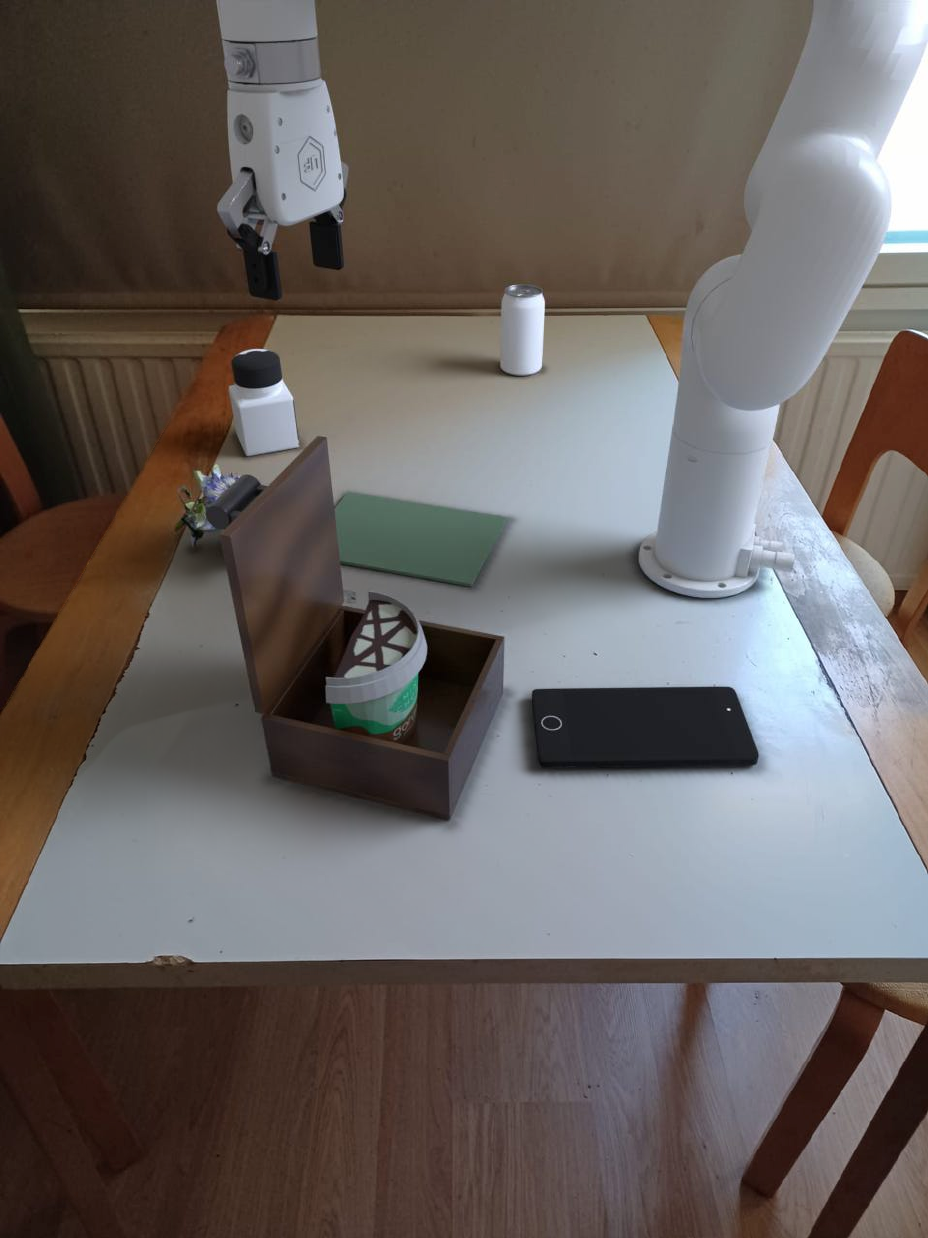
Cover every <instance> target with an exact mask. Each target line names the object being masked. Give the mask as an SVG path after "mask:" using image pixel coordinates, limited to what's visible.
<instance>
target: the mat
mask: <svg viewBox="0 0 928 1238" xmlns="http://www.w3.org/2000/svg"><path fill="white" fill-rule="evenodd" d="M334 510H335V519H336V529H337V538H338V547H339V557H340V565H341V564H342V565H348V566H353V567H359V568H364V569H370V570H374V571H380V572H386V573H391V574H392V573H393V574H398V575H402V576H408V577H413V578H420V579H425V580H432V581H437V582H442V583H448V584H453V585H459V586H463V587H470V588H472V587H473V586H474V583H475V581H476V579H477V578H478V576H479V574H480V572H481V571H482V569H483V566H484V565H485V562H486V561H487V559H488V557H489V556H490V553H491V552H492V550H493V548H494V546H495V544H496V542H497V541H498V538H499V536H500V535H501V533H502V531H503V529H504V527H505V526H506V524H507V521H508V517H507V516H502V515H496V514H489V513H484V512H483V513H482V512H477V511H472V510H471V511H470V510H465V509H464V510H463V509H459V508H451V507H445V506H440V505H432V504H426V503H420V502H414V501H406V500H401V499H394V498H387V497H381V496H375V495H369V494H363V493H356V492H350V491H348V492H347V493H345V495H344V496H343V497H342V499H341V500H340V501H339V502H338V503H337V505H336V506H334Z"/></svg>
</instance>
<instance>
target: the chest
mask: <svg viewBox="0 0 928 1238" xmlns="http://www.w3.org/2000/svg"><path fill="white" fill-rule="evenodd" d="M365 611H366V609H363V608H357V607H352V606H347V605H342V606H341V607H340V608H339V610H338V611H337V613H336V614H335V615H334V617H333V618H332V620H331V621H330V622H329V624H328V625H327V627H326V628H325V629H324V631H323V632H322V634H321V635H320V637H319V638H318V639H317V641H316V642H315V644H314V645H313V646H312V648H311V649H310V651H309V652H308V653H307V655H306V656H305V658H304V659H303V660H302V662H301V663H300V665H299V666H298V667H297V669H296V670H295V672H294V673H293V675H292V676H291V677H290V679H289V680H288V682H287V683H286V684H285V686H284V687H283V689H282V690H281V691H280V693H279V694H278V696H277V697H276V698H275V700H274V701H273V703H272V704H271V705H270V707H269V708H268V710H267V711H266V713H265V714H261V717H260V721H261V727H262V731H263V738H264V742H265V746H266V752H267V757H268V760H269V761H268V763H269V768H270V772H271V776H272V777H273V778H275V779H279V780H284V781H288V782H292V783H295V784H300V785H305V786H309V787H311V788H312V787H313V788H316V789H320V790H324V791H328V792H332V793H337V794H341V795H344V796H349V797H353V798H357V799H359V800H360V799H361V800H365V801H369V802H373V803H377V804H381V805H385V806H388V807H389V806H390V807H392V808H393V807H394V808H397V809H401V810H405V811H410V812H414V813H417V814H422V815H426V816H430V817H433V818H437V819H442V820H445V821H451V819H452V817H453V814H454V812H455V809H456V807H457V805H458V802H459V800H460V797H461V795H462V793H463V790H464V788H465V785H466V783H467V781H468V778H469V776H470V774H471V771H472V769H473V767H474V764H475V762H476V760H477V757H478V755H479V752H480V750H481V747H482V745H483V742H484V741H485V738H486V735H487V733H488V731H489V728H490V726H491V723H492V721H493V719H494V716H495V714H496V712H497V710H498V707H499V705H500V702H501V700H502V699H503V698H502V697H503V695H504V679H505V678H504V677H505V676H504V675H505V674H504V673H505V641H506V637H505V636H503V635H498V634H494V633H493V634H492V633H488V632H482V631H477V630H472V629H466V628H462V627H456V626H451V625H446V624H441V623H436V622H432V621H427V620H426V621H425V620H419V619H418V621H419V623H420V624H421V627H422V630H423V633H424V636H425V640H426V644H427V655H426V660H425V662H424V664H423V666H422V668H421V670H420V671H419V672H418V691H417V715H416V728H415V732H414V734H413V736H412V738H411V739H410V740H409V741H408V743H407V744H406V745H402V744H398V743H393V742H389V741H385V740H380V739H376V738H371V737H367V736H363V735H358V734H354V733H350V732H345V731H341V730H336V729H335V725H334V720H333V715H332V710H331V705H330V703H326V685H327V684H326V677H330V678H333V677H334V675H335V673H336V671H337V669H338V667H339V665H340V662H341V660H342V658H343V655H344V653H345V651H346V648H347V645H348V643H349V640H350V638H351V636H352V634H353V632H354V631H355V629H356V628H357V626H358V624H359V623H360V621H361V619H362V617H363V615H364V613H365Z"/></svg>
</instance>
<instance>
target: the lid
mask: <svg viewBox="0 0 928 1238" xmlns="http://www.w3.org/2000/svg"><path fill="white" fill-rule="evenodd" d="M330 463H331V462H330V455H329V446H328V437H327V436H321V435H317V436H316V437H315V438H314V439H313V440H312V441H311V442H310V443H309V444H308V445H307V446H306V447H305V448H304V449H303V450H301V452H300V453H299V454H298V455H297V456H296V457H295V458H294V459H293V460H291V462H290V463H289V464H288V465H287V466H286V467H285V468H284V469H283V470H282V471H281V472H280V473H279V474H278V475H277V476H276V477H275V478H274V479H273V480H272V481H271V482H270V483H269V484H268V485H265V484H261V482H260V480H259V479H258V478H257V477H255V476H254V475H253V474H248V473H247V474H242V475H240V476H241V477H240V478H239V479H237V480H236V481H235V482H234V483H233V484H232V485H231V486H230V487H229V488H228V489H227V490H226V491H225V492H224V493H223V494H222V495H221V496H220V497H218V498H217V499H216V500H215V501H214V502H213V503H212V504H211V505H210V506H209V507H208V508H207V510H206V518H207V520H208V522H209V523H210V524H211V525H212V526H213V527H215V528H217V529H218V530H223V531H222V532H221V533H220V534H219V539H220V542H221V549H222V554H223V559H224V563H225V569H226V573H227V579H228V583H229V588H230V589H229V590H230V594H231V598H232V599H231V600H232V604H233V608H234V614H235V619H236V624H237V628H238V633H239V638H240V639H239V640H240V644H241V648H242V654H243V658H244V659H243V660H244V663H245V668H246V674H247V678H248V684H249V688H250V693H251V698H252V703H253V708H254V713H256V714H261V715H263V714H265V713H266V711H267V710H268V708H269V707H270V705H271V704H272V703H273V701H274V700H275V698H276V697H277V696H278V694H279V693H280V691H281V690H282V689H283V687H284V686H285V684H286V683H287V682H288V680H289V679H290V677H291V676H292V675H293V673H294V672H295V670H296V669H297V667H298V666H299V665H300V663H301V662H302V660H303V659H304V658H305V656H306V655H307V653H308V652H309V651H310V649H311V648H312V646H313V645H314V644H315V642H316V641H317V639H318V638H319V637H320V635H321V634H322V632H323V631H324V629H325V628H326V627H327V625H328V624H329V622H330V621H331V620H332V618H333V617H334V615H335V614H336V613H337V611H338V610H339V608H340V607H341V606H343V604H344V603H345V594H344V587H343V585H344V584H343V576H342V567H341V563H340V557H339V547H338V538H337V529H336V519H335V510H334V508H335V502H334V492H333V483H332V472H331V466H330V465H331V464H330ZM224 529H225V530H224Z"/></svg>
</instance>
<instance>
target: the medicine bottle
mask: <svg viewBox="0 0 928 1238" xmlns="http://www.w3.org/2000/svg"><path fill="white" fill-rule="evenodd" d="M230 363H231V369H232V375H233V383H234V384H232V385H229V386H228V394H229V400H230V404H231V406H230V407H231V411H232V416H233V422H234V428H235V434H236V436H237V438H238V441H239V443H240V445H241V447H242V449H243V453H244V454H245V456H246V457H253V456H259V455H265V454H269V453H270V454H271V453H276V452H281V451H288V450H293V449H298V448H299V447H300V439H299V431H298V430H299V429H298V422H297V416H296V408H295V400H294V397H293V395H292V393H291V391H290V390H289V389H288V387H287V385H286V384H285V381H284V379H283V371H282V366H281V365H282V364H281V358H280V356H279V355H278V354H277V353H276V352H274V351H272V350H268V349H264V348H253V349H247V350H243V351H241V352H239V353H238V354H236V355H234V357H233V358H232V359H231V362H230Z"/></svg>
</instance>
